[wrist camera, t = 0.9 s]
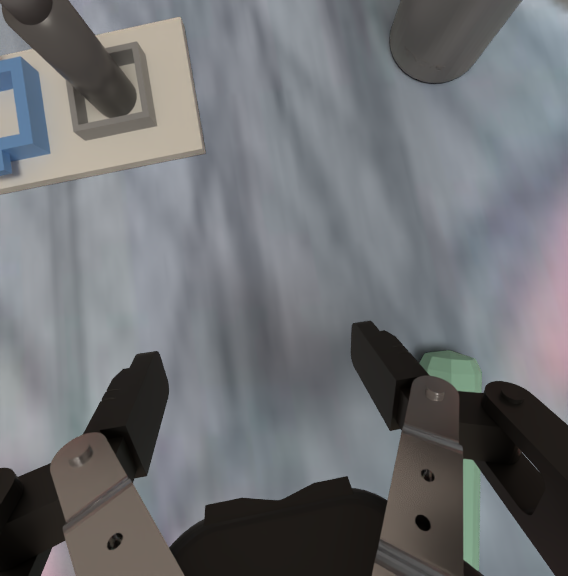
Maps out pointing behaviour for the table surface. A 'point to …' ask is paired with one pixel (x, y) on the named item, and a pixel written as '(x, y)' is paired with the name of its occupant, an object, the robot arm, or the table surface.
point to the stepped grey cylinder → (72, 52)
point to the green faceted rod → (468, 379)
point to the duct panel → (89, 121)
